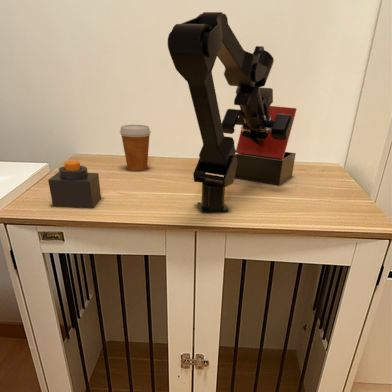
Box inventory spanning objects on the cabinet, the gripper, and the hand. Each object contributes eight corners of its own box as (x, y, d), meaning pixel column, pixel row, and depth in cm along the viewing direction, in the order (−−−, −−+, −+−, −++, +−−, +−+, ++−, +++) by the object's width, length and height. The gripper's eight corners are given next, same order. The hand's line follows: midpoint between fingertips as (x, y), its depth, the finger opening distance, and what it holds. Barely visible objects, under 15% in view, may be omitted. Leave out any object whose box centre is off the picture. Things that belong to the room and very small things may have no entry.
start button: (82, 168, 100) (81, 161, 99) (78, 172, 97) (77, 164, 96) (68, 168, 100) (66, 160, 99) (63, 171, 97) (62, 163, 96)
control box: (101, 198, 106) (97, 165, 102) (93, 208, 100) (88, 173, 95) (63, 196, 107) (57, 163, 102) (52, 206, 100) (46, 171, 96)
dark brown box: (249, 169, 135) (251, 147, 131) (292, 176, 130) (295, 153, 126) (234, 178, 126) (235, 154, 122) (279, 185, 121) (282, 160, 117)
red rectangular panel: (248, 104, 119) (247, 103, 118) (296, 109, 114) (296, 108, 113) (236, 153, 122) (235, 152, 121) (283, 159, 117) (282, 158, 116)
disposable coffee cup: (157, 170, 131) (156, 128, 124) (130, 173, 127) (127, 130, 120) (143, 163, 138) (141, 123, 130) (117, 166, 133) (114, 125, 126)
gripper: (297, 77, 101) (302, 122, 115) (228, 73, 107) (241, 116, 122) (282, 117, 100) (288, 158, 114) (213, 111, 107) (228, 149, 121)
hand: (261, 144), depth 118 cm, fingers closed, pressing on red rectangular panel
